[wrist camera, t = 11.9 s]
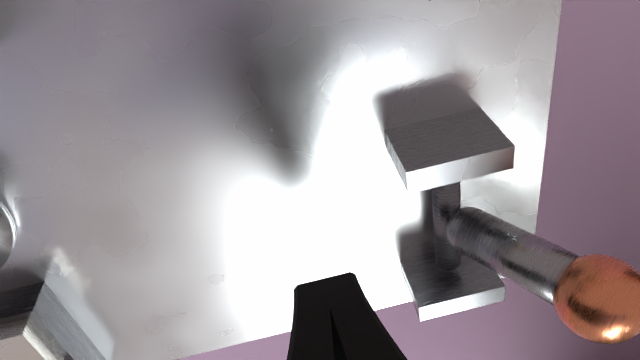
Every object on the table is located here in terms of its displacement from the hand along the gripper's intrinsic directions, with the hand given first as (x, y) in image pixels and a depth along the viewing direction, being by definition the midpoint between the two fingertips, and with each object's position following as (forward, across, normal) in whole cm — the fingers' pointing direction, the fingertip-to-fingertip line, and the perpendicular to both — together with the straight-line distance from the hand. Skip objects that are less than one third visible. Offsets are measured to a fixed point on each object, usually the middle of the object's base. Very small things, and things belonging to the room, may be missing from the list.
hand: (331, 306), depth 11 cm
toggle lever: (+2, -3, 0) cm, 4 cm away
